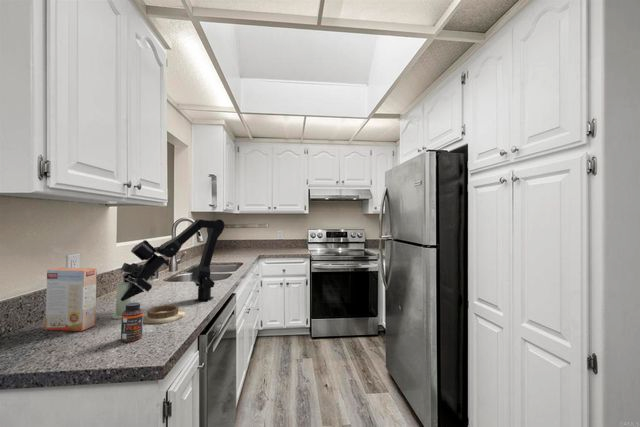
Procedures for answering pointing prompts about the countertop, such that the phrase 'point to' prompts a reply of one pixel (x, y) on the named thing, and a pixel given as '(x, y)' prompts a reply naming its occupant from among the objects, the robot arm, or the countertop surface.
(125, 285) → the flanged peg
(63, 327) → the cracker box
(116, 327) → the countertop surface
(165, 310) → the locating collar
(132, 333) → the supplement bottle
